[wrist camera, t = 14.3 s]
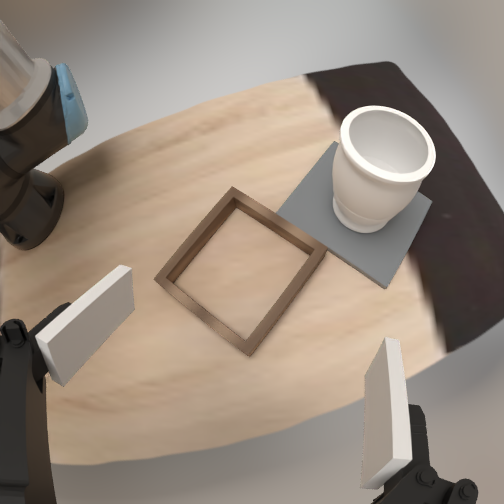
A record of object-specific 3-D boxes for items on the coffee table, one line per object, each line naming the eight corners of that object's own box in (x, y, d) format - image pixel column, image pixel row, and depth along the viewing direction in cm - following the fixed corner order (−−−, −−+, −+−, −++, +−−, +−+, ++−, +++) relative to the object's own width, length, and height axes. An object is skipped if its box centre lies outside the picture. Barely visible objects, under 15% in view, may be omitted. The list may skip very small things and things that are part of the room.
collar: (161, 285, 43) (153, 279, 40) (235, 197, 46) (232, 186, 43) (249, 356, 38) (247, 355, 36) (325, 255, 42) (327, 247, 39)
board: (275, 216, 45) (275, 213, 44) (333, 144, 48) (334, 141, 47) (384, 289, 40) (387, 287, 39) (429, 204, 43) (432, 201, 42)
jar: (396, 184, 44) (430, 117, 30) (395, 247, 40) (440, 191, 26) (328, 170, 45) (342, 96, 31) (320, 233, 42) (336, 168, 28)
